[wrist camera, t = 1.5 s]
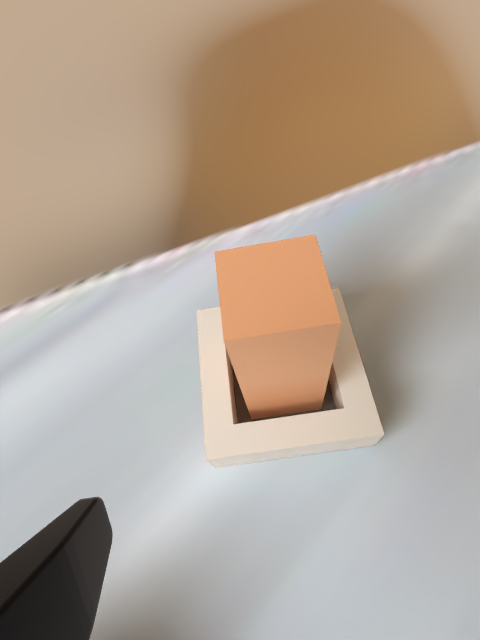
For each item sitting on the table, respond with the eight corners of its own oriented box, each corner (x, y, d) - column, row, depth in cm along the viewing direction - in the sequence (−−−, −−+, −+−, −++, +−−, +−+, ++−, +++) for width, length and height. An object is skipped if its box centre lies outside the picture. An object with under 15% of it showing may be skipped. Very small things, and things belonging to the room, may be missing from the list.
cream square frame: (334, 309, 24) (339, 287, 22) (374, 445, 20) (384, 434, 18) (204, 330, 24) (196, 310, 22) (215, 467, 20) (205, 459, 18)
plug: (306, 346, 23) (315, 234, 14) (321, 409, 21) (341, 322, 12) (243, 356, 23) (214, 251, 15) (251, 419, 21) (223, 340, 13)
